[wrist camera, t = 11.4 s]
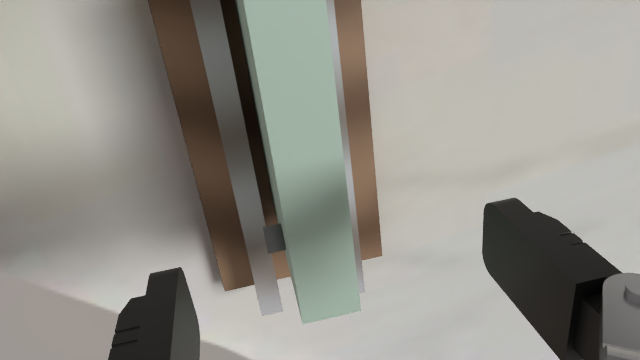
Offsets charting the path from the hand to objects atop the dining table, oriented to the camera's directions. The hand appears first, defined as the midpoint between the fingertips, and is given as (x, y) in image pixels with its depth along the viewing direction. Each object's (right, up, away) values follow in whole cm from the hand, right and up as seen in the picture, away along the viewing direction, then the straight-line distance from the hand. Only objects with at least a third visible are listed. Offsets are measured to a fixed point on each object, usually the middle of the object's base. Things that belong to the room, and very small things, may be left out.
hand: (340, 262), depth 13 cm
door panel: (-3, +7, +13) cm, 15 cm away
